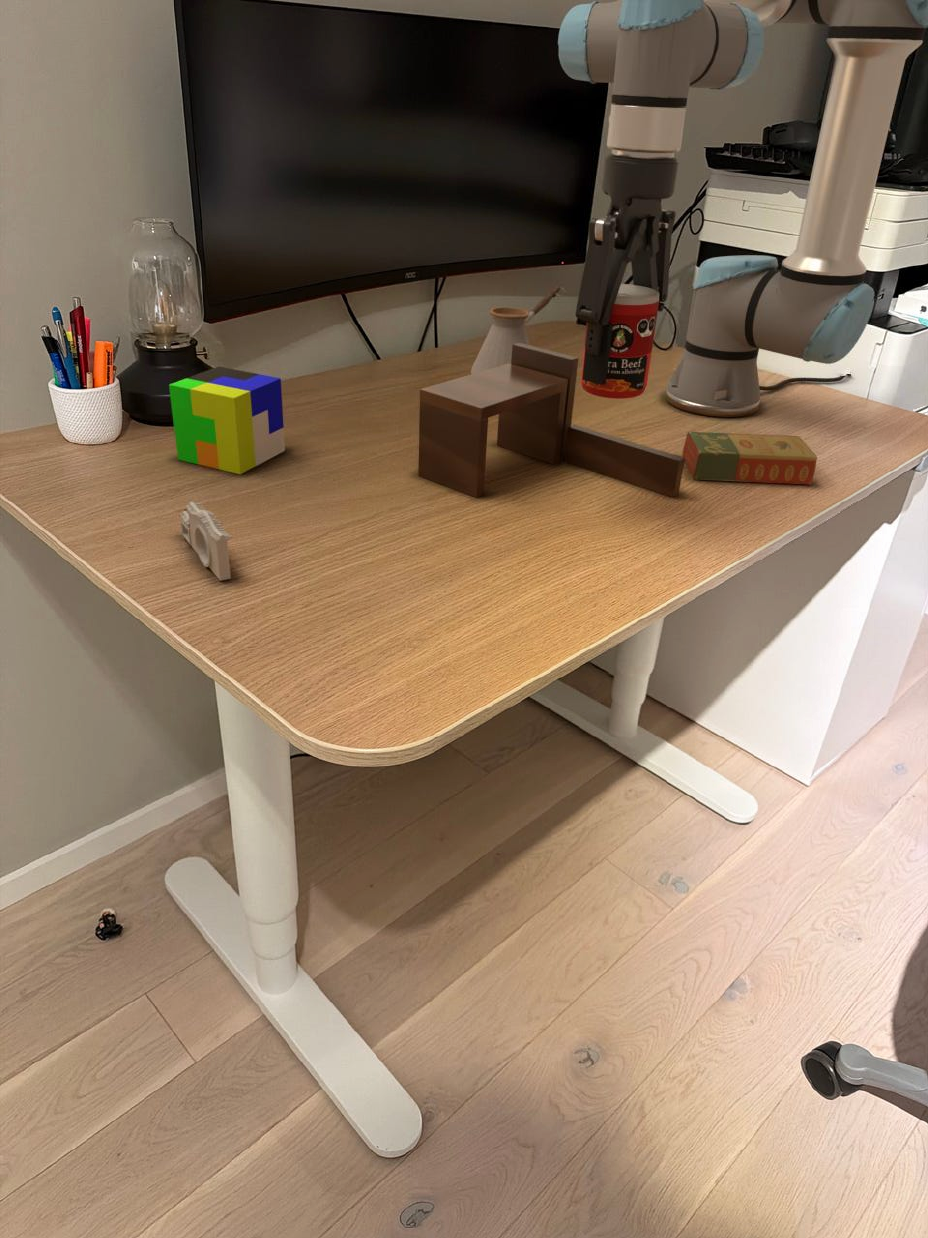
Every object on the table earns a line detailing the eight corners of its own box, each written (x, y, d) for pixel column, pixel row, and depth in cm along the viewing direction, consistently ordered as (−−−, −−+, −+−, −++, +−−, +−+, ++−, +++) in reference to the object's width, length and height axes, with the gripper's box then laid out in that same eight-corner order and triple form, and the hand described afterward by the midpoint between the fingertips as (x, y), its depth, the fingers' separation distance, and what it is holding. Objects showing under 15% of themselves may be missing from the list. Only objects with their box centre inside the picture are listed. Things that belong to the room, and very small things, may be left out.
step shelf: (511, 439, 133) (518, 342, 125) (678, 494, 118) (697, 387, 111) (417, 475, 119) (420, 368, 112) (593, 542, 104) (608, 424, 97)
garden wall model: (180, 537, 101) (174, 487, 98) (196, 534, 102) (190, 485, 99) (218, 584, 92) (213, 531, 89) (235, 579, 93) (230, 527, 90)
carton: (811, 486, 122) (819, 456, 120) (692, 480, 122) (697, 450, 120) (793, 463, 129) (800, 434, 127) (681, 457, 129) (686, 428, 127)
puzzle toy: (285, 450, 125) (280, 378, 120) (240, 474, 117) (233, 397, 112) (225, 437, 128) (218, 366, 123) (178, 459, 120) (168, 384, 115)
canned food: (577, 396, 103) (588, 295, 97) (581, 376, 110) (591, 280, 104) (646, 402, 102) (661, 301, 96) (645, 381, 109) (659, 285, 103)
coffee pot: (512, 405, 146) (519, 309, 139) (456, 389, 152) (460, 296, 144) (581, 378, 161) (590, 290, 153) (527, 365, 167) (534, 279, 159)
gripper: (661, 146, 102) (634, 350, 114) (553, 154, 88) (534, 385, 100) (722, 152, 98) (687, 363, 110) (618, 161, 84) (591, 401, 96)
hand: (614, 373), depth 105 cm, fingers closed on canned food, 8 cm apart
